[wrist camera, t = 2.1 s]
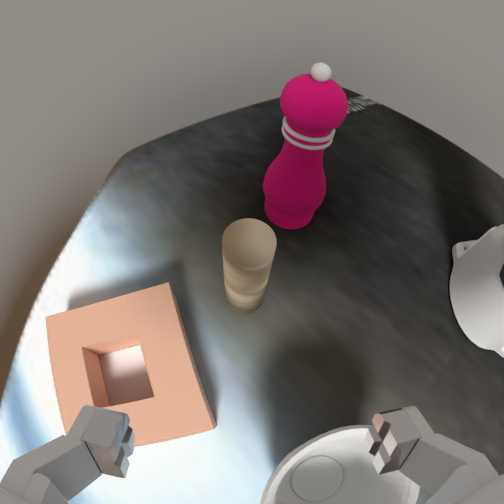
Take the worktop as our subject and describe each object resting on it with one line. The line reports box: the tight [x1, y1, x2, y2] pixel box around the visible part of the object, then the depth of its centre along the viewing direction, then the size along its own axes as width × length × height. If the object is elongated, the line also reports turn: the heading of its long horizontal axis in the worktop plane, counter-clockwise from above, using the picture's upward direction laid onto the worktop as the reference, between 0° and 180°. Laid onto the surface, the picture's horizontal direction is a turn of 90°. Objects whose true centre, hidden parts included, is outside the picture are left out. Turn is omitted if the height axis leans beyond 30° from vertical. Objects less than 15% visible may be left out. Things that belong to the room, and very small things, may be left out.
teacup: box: [261, 425, 420, 504], centre depth 17 cm, size 12×15×10 cm
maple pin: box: [222, 218, 277, 313], centre depth 27 cm, size 4×4×11 cm
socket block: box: [46, 282, 217, 447], centre depth 25 cm, size 14×14×4 cm
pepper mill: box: [263, 63, 348, 230], centre depth 29 cm, size 7×7×20 cm
